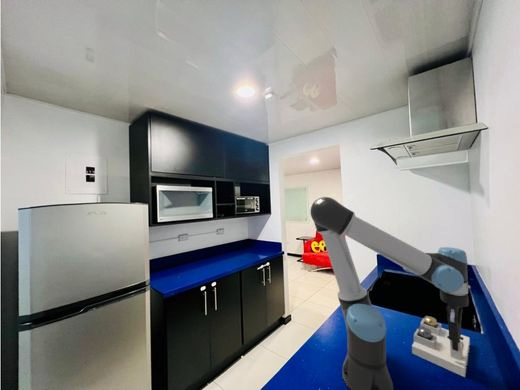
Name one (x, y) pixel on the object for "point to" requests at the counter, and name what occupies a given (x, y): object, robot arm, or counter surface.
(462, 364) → the console
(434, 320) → the brass button
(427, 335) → the grey button
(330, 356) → the counter surface
